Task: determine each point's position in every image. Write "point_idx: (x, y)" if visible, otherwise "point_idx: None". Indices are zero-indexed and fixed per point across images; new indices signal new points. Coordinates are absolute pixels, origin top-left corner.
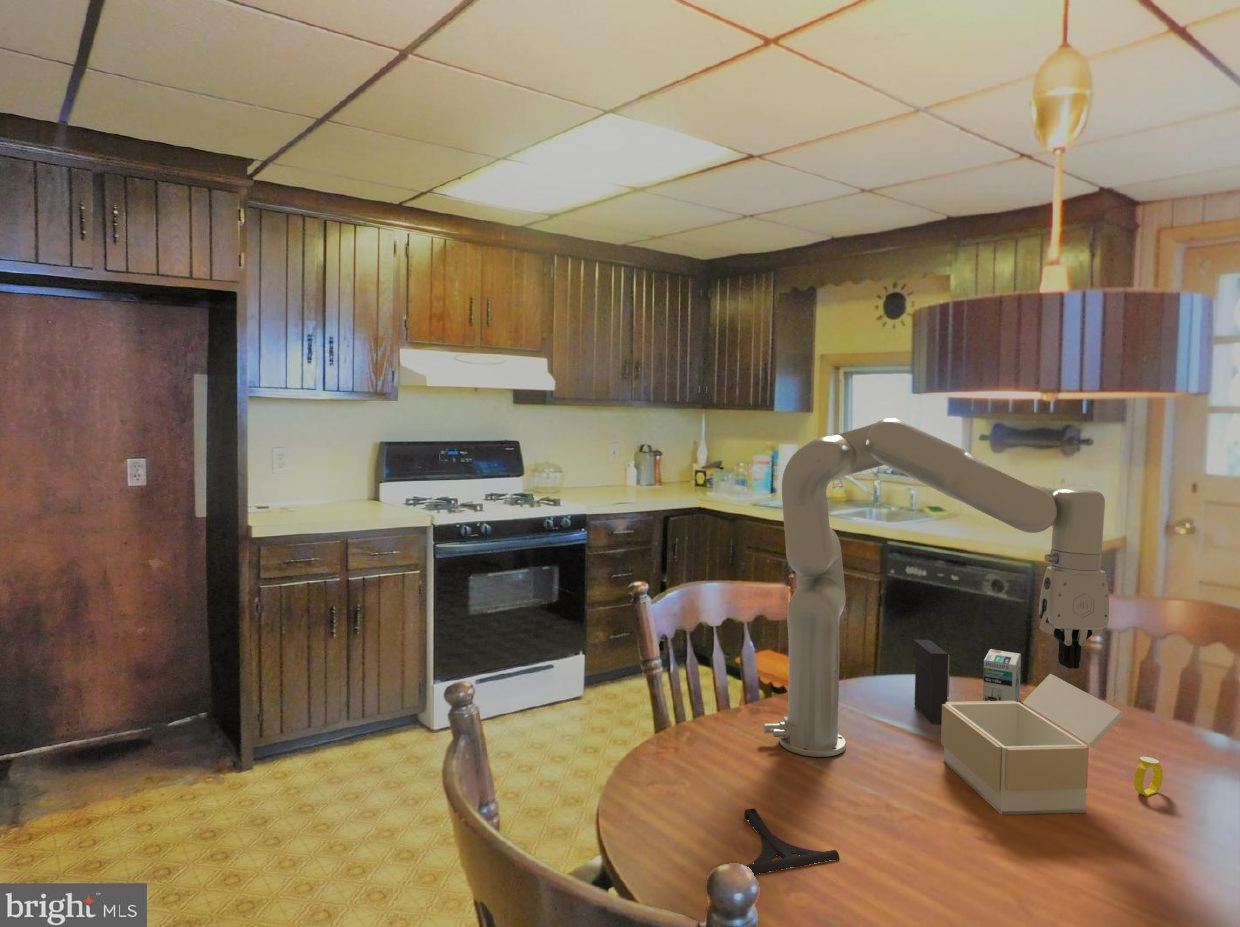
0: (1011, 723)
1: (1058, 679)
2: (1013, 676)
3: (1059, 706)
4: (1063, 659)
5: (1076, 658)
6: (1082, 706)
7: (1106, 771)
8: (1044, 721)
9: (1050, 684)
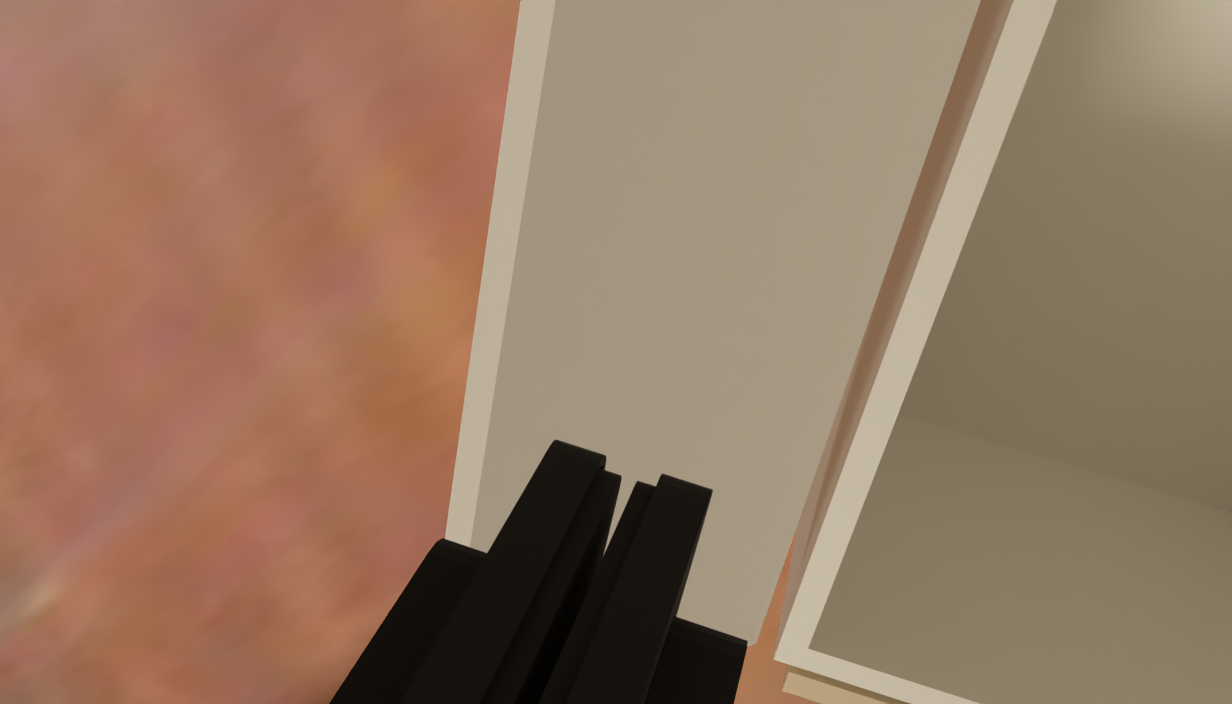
0: (864, 552)
1: None
2: None
3: (741, 348)
4: (740, 668)
5: (548, 568)
6: (696, 116)
7: (408, 105)
8: (938, 302)
9: None
